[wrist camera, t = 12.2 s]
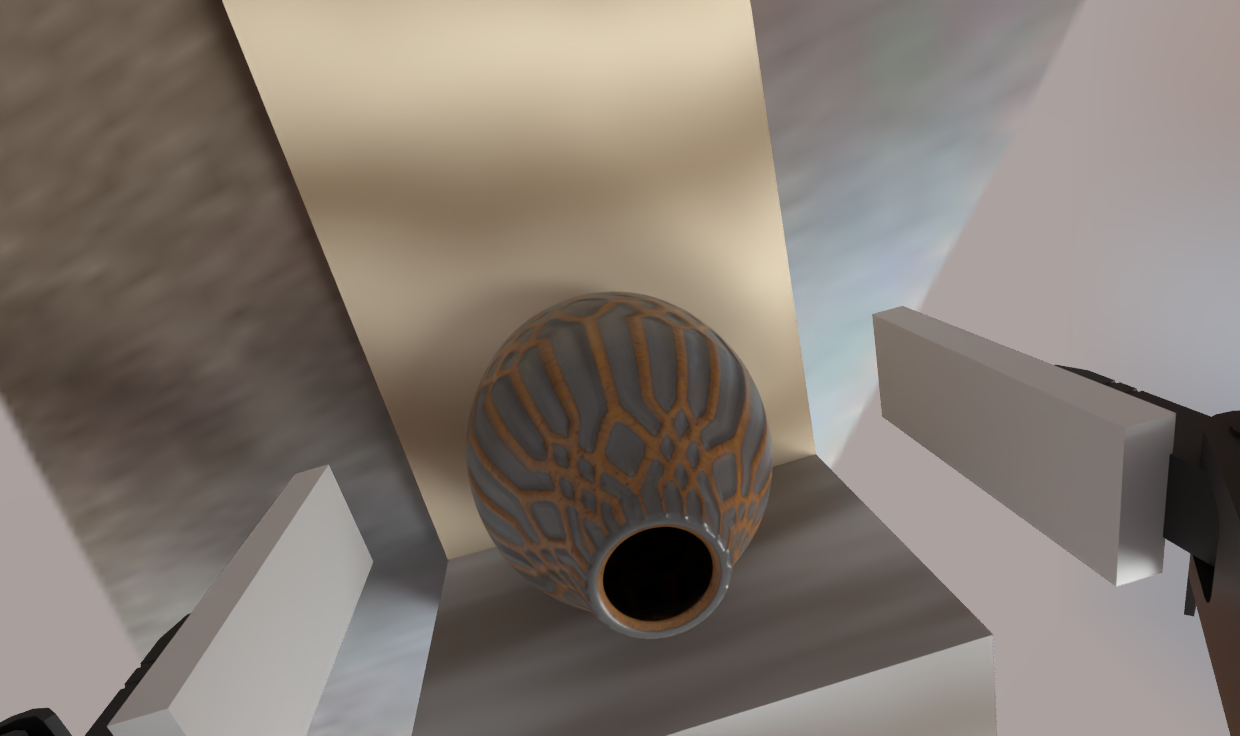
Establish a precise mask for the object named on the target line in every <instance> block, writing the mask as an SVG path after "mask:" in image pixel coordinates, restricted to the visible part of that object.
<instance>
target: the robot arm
mask: <svg viewBox="0 0 1240 736" xmlns="http://www.w3.org/2000/svg"><path fill="white" fill-rule="evenodd" d="M872 315H873V326H874V336H875V346H876V356H877V367H878V377H879V387H880V397H881V408H882V416H883V417H884V418H885V419H886V420H888V421H889V422H891V423H892V424H893V425H895V426H896V427H898V428H899V429H900V430H902V431H903V432H904V433H906V434H907V435H909V436H910V437H911V438H913V439H914V440H915V441H917V442H918V443H920V444H921V445H922V446H924V447H925V448H926V449H928V450H929V451H930V452H932V453H933V454H935V455H936V456H937V457H939V458H940V459H941V460H943V461H944V462H946V463H947V464H948V465H950V466H951V467H952V468H954V469H955V470H957V471H958V472H959V473H961V474H962V475H963V476H965V477H966V478H968V479H969V480H970V481H972V482H973V483H974V484H976V485H977V486H979V487H980V488H981V489H983V490H984V491H985V492H987V493H988V494H990V495H991V496H992V497H994V498H995V499H997V500H998V501H1000V502H1001V503H1002V504H1003V505H1005V506H1006V507H1007V508H1009V509H1010V510H1012V511H1013V512H1014V513H1016V514H1017V515H1018V516H1020V517H1021V518H1023V519H1024V520H1025V521H1027V522H1028V523H1029V524H1031V525H1032V526H1034V527H1035V528H1036V529H1038V530H1039V531H1040V532H1042V533H1043V534H1045V535H1046V536H1047V537H1049V538H1050V539H1051V540H1053V541H1054V542H1056V543H1057V544H1058V545H1060V546H1061V547H1062V548H1064V549H1065V550H1067V551H1068V552H1069V553H1071V554H1072V555H1073V556H1075V557H1076V558H1078V559H1079V560H1080V561H1082V562H1083V563H1085V564H1086V565H1087V566H1089V567H1090V568H1091V569H1093V570H1094V571H1095V572H1097V573H1098V574H1100V575H1101V576H1102V577H1104V578H1105V579H1106V580H1108V581H1109V582H1111V583H1112V584H1114V585H1115V586H1120V585H1123V584H1126V583H1130V582H1132V581H1136V580H1139V579H1143V578H1146V577H1149V576H1152V575H1156V574H1159V573H1162V569H1163V558H1164V546H1165V538H1166V539H1167V540H1169V541H1171V542H1172V543H1174V544H1176V545H1177V546H1179V547H1181V548H1182V549H1184V550H1186V551H1187V552H1189V553H1190V563H1189V572H1188V582H1187V591H1186V601H1185V611H1184V614H1185V615H1190V616H1194V613H1195V609H1196V606H1197V610H1198V613H1199V617H1200V620H1201V625H1202V629H1203V632H1204V636H1205V640H1206V644H1207V647H1208V651H1209V655H1210V659H1211V663H1212V666H1213V670H1214V674H1215V678H1216V682H1217V686H1218V689H1219V693H1220V697H1221V701H1222V705H1223V709H1224V712H1225V716H1226V720H1227V724H1228V728H1229V731H1230V735H1231V736H1240V411H1231V412H1226V413H1221V414H1216V415H1214V416H1212V417H1210V416H1208V415H1205V414H1202V413H1200V412H1197V411H1194V410H1192V409H1189V408H1187V407H1184V406H1181V405H1178V404H1176V403H1173V402H1171V401H1168V400H1165V399H1163V398H1160V397H1157V396H1154V395H1152V394H1149V393H1147V392H1144V391H1140V392H1138V391H1137V389H1136V388H1133V387H1131V386H1128V385H1125V384H1123V383H1115V381H1114V380H1112V379H1109V378H1107V377H1104V376H1101V375H1099V374H1096V373H1094V372H1091V371H1088V370H1082V369H1077V368H1071V367H1066V366H1060V365H1052V364H1049V363H1047V362H1044V361H1042V360H1039V359H1037V358H1034V357H1032V356H1029V355H1026V354H1024V353H1021V352H1019V351H1016V350H1014V349H1011V348H1008V347H1006V346H1003V345H1001V344H998V343H996V342H993V341H991V340H988V339H985V338H983V337H980V336H978V335H975V334H973V333H970V332H968V331H965V330H963V329H960V328H957V327H955V326H952V325H950V324H947V323H945V322H942V321H940V320H937V319H935V318H932V317H929V316H927V315H924V314H922V313H919V312H917V311H914V310H912V309H909V308H906V307H904V306H901V307H897V308H893V309H890V310H886V311H883V312H879V313H875V314H872ZM372 564H373V560H372V558H371V555H370V553H369V551H368V549H367V547H366V545H365V542H364V540H363V538H362V536H361V534H360V532H359V529H358V527H357V525H356V523H355V521H354V518H353V516H352V514H351V512H350V510H349V508H348V505H347V503H346V501H345V499H344V497H343V494H342V492H341V490H340V488H339V486H338V484H337V481H336V479H335V477H334V475H333V473H332V470H331V468H330V466H329V464H328V465H325V466H321V467H318V468H314V469H310V470H307V471H303V472H299V473H296V474H295V475H294V476H293V477H292V479H291V480H290V481H289V483H288V484H287V485H286V487H285V488H284V489H283V491H282V492H281V494H280V495H279V496H278V498H277V499H276V500H275V502H274V503H273V504H272V506H271V507H270V508H269V510H268V511H267V512H266V514H265V515H264V516H263V518H262V519H261V520H260V522H259V523H258V524H257V526H256V527H255V528H254V530H253V531H252V532H251V534H250V535H249V536H248V538H247V539H246V540H245V542H244V543H243V544H242V546H241V547H240V548H239V550H238V551H237V553H236V554H235V555H234V557H233V558H232V559H231V561H230V562H229V563H228V565H227V566H226V567H225V569H224V570H223V571H222V573H221V574H220V575H219V577H218V578H217V579H216V581H215V582H214V583H213V585H212V586H211V587H210V589H209V590H208V591H207V593H206V594H205V595H204V597H203V598H202V599H201V601H200V602H199V603H198V605H197V606H196V607H195V609H194V610H193V611H192V613H191V614H188V615H186V616H185V617H184V618H183V619H182V620H181V621H179V622H178V623H177V624H176V625H175V626H174V627H173V628H171V629H170V630H169V631H168V632H167V633H166V634H165V635H163V636H162V637H161V638H160V639H159V640H158V641H157V643H156V644H155V645H154V647H153V648H152V649H151V651H150V652H149V653H148V654H147V656H146V657H145V658H144V660H143V661H142V662H141V667H140V668H137V669H136V670H135V671H134V673H133V674H132V675H131V676H130V678H129V679H128V680H127V682H126V683H125V688H124V689H121V690H120V691H119V692H118V693H117V695H116V696H115V697H114V699H113V700H112V701H111V703H110V704H109V705H108V706H107V708H106V709H105V710H104V711H103V713H102V714H101V715H100V717H99V718H98V719H97V720H96V722H95V723H94V724H93V726H92V727H91V728H90V730H89V731H88V732H87V733H86V735H85V736H306V734H307V732H308V729H309V727H310V724H311V721H312V719H313V716H314V714H315V711H316V708H317V706H318V703H319V701H320V698H321V696H322V693H323V690H324V688H325V685H326V683H327V680H328V678H329V675H330V672H331V670H332V667H333V665H334V662H335V660H336V657H337V654H338V652H339V649H340V647H341V644H342V641H343V639H344V636H345V634H346V631H347V629H348V626H349V623H350V621H351V618H352V616H353V613H354V611H355V608H356V605H357V603H358V600H359V598H360V595H361V593H362V590H363V587H364V585H365V582H366V580H367V577H368V575H369V572H370V569H371V567H372ZM0 736H72V735H71V734H70V732H69V731H68V730H67V729H66V727H65V726H64V724H63V723H62V722H61V720H60V719H59V718H58V716H57V715H56V714H55V713H54V712H53V711H52V710H51V709H49V708H38V709H31V710H29V711H26V712H23V713H20V714H17V715H14V716H12V717H10V718H8V719H6V720H4V721H2V722H0Z"/></svg>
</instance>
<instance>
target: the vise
mask: <svg viewBox="0 0 1240 736" xmlns="http://www.w3.org/2000/svg"><path fill="white" fill-rule="evenodd" d="M222 2H223V4H224V7H225V9H226V12H227V14H228V16H229V19H230V21H231V24H232V26H233V29H234V31H235V34H236V36H237V39H238V41H239V44H240V46H241V49H242V51H243V54H244V56H245V59H246V61H247V64H248V66H249V68H250V71H251V73H252V76H253V78H254V81H255V83H256V86H257V88H258V91H259V93H260V96H261V98H262V101H263V103H264V106H265V108H266V111H267V113H268V116H269V118H270V120H271V123H272V125H273V128H274V130H275V133H276V135H277V138H278V140H279V143H280V145H281V148H282V150H283V153H284V155H285V158H286V160H287V163H288V165H289V168H290V170H291V172H292V175H293V177H294V180H295V182H296V185H297V187H298V190H299V192H300V195H301V197H302V200H303V202H304V205H305V207H306V210H307V212H308V215H309V217H310V220H311V222H312V224H313V227H314V229H315V232H316V234H317V237H318V239H319V242H320V244H321V247H322V249H323V252H324V254H325V257H326V259H327V262H328V264H329V267H330V269H331V272H332V274H333V276H334V279H335V281H336V284H337V286H338V289H339V291H340V294H341V296H342V299H343V301H344V304H345V306H346V309H347V311H348V314H349V316H350V319H351V321H352V324H353V326H354V328H355V331H356V333H357V336H358V338H359V341H360V343H361V346H362V348H363V351H364V353H365V356H366V358H367V361H368V363H369V366H370V368H371V371H372V373H373V376H374V378H375V380H376V383H377V385H378V388H379V390H380V393H381V395H382V398H383V400H384V403H385V405H386V408H387V410H388V413H389V415H390V418H391V420H392V423H393V425H394V428H395V430H396V432H397V435H398V437H399V440H400V442H401V445H402V447H403V450H404V452H405V455H406V457H407V460H408V462H409V465H410V467H411V470H412V472H413V475H414V477H415V480H416V482H417V484H418V487H419V489H420V492H421V494H422V497H423V499H424V502H425V504H426V507H427V509H428V512H429V514H430V517H431V519H432V522H433V524H434V527H435V529H436V532H437V534H438V536H439V539H440V541H441V544H442V546H443V549H444V551H445V554H446V556H447V559H448V563H447V568H446V573H445V578H444V583H443V587H442V592H441V597H440V602H439V607H438V611H437V616H436V621H435V626H434V631H433V636H432V640H431V645H430V650H429V655H428V660H427V664H426V669H425V674H424V679H423V684H422V689H421V693H420V698H419V703H418V708H417V713H416V718H415V722H414V727H413V732H412V736H997V721H996V696H995V695H996V694H995V670H994V669H995V668H994V643H993V634H992V633H991V632H990V631H989V630H988V629H987V628H986V627H985V626H984V625H983V624H982V623H981V622H980V621H979V620H978V619H977V618H976V617H975V616H974V615H973V614H972V613H971V612H970V610H969V609H968V608H967V607H966V606H964V604H963V603H962V602H961V601H960V600H959V599H958V598H957V597H956V596H955V595H954V594H953V593H952V592H951V591H950V590H949V589H948V588H947V587H946V586H945V585H944V584H943V583H942V582H941V581H940V580H939V579H938V578H937V577H936V576H935V575H934V574H933V573H932V572H931V571H930V570H929V569H928V568H927V567H926V566H925V565H924V564H923V563H922V562H921V561H920V560H919V559H918V558H917V557H916V556H915V555H914V554H913V553H912V552H911V551H910V550H909V549H908V547H907V546H906V545H904V543H903V542H902V541H901V540H899V538H898V537H897V536H896V535H895V534H894V533H893V532H892V531H891V530H890V529H889V528H888V527H887V526H886V525H885V524H884V523H883V522H882V521H881V520H880V519H879V518H878V517H877V516H876V515H875V514H874V513H873V512H872V511H871V510H870V509H869V508H868V507H867V506H866V505H865V504H864V503H863V502H862V501H861V500H860V499H859V498H858V497H857V496H856V495H855V494H854V493H853V492H852V491H851V490H850V489H849V488H848V487H847V486H846V485H845V484H844V483H843V481H841V479H839V478H838V477H837V475H836V474H835V473H834V472H833V471H832V470H831V469H830V468H829V467H828V466H827V465H826V464H825V463H824V462H823V461H822V460H821V459H820V458H819V457H818V456H817V455H816V452H815V445H814V438H813V431H812V424H811V417H810V410H809V403H808V397H807V390H806V383H805V376H804V369H803V362H802V355H801V348H800V342H799V335H798V328H797V321H796V314H795V307H794V300H793V293H792V286H791V280H790V273H789V266H788V259H787V252H786V245H785V238H784V231H783V225H782V218H781V211H780V204H779V197H778V190H777V183H776V176H775V169H774V163H773V156H772V149H771V142H770V135H769V128H768V121H767V114H766V108H765V101H764V94H763V87H762V80H761V73H760V66H759V59H758V52H757V46H756V39H755V32H754V25H753V18H752V11H751V4H750V0H222ZM599 292H631V293H638V294H644V295H648V296H652V297H656V298H659V299H661V300H664V301H667V302H669V303H671V304H674V305H676V306H678V307H680V308H682V309H684V310H685V311H687V312H689V313H691V314H693V315H694V316H696V317H697V318H699V319H700V320H701V321H703V322H704V323H705V324H707V325H708V326H709V327H710V328H712V329H713V330H714V331H715V332H717V333H718V334H719V335H720V336H721V337H722V338H723V339H724V340H725V341H726V342H727V344H728V345H729V346H730V347H731V348H732V349H733V350H734V351H735V352H736V354H737V355H738V356H739V358H740V359H741V360H742V362H743V363H744V365H745V366H746V368H747V370H748V371H749V373H750V375H751V377H752V379H753V381H754V383H755V385H756V387H757V389H758V391H759V394H760V396H761V399H762V402H763V405H764V408H765V412H766V415H767V419H768V424H769V429H770V434H771V442H772V458H773V467H772V480H771V487H770V493H769V497H768V501H767V505H766V508H765V511H764V514H763V517H762V520H761V522H760V524H759V527H758V529H757V531H756V533H755V535H754V537H753V538H752V540H751V542H750V543H749V545H748V546H747V548H746V549H745V551H744V552H743V554H742V555H741V557H740V558H739V559H738V560H737V562H736V563H735V564H734V565H733V571H732V576H731V580H730V584H729V587H728V589H727V592H726V594H725V596H724V597H723V599H722V601H721V602H720V604H719V605H718V606H717V608H716V609H715V610H714V611H713V612H712V613H711V614H710V615H709V616H708V617H707V618H706V619H705V620H703V621H702V622H701V623H699V624H698V625H696V626H695V627H693V628H691V629H689V630H687V631H685V632H682V633H680V634H677V635H674V636H670V637H665V638H659V639H640V638H634V637H630V636H626V635H623V634H620V633H618V632H616V631H614V630H612V629H610V628H609V627H607V626H606V625H605V624H603V623H602V622H601V621H600V620H599V619H598V618H597V617H596V616H595V615H594V614H593V613H592V612H589V611H585V610H582V609H579V608H576V607H573V606H570V605H568V604H565V603H563V602H560V601H558V600H556V599H554V598H552V597H550V596H549V595H547V594H545V593H544V592H542V591H541V590H539V589H538V588H536V587H535V586H533V585H532V584H530V583H529V582H528V581H527V580H525V579H524V578H523V577H522V576H521V575H520V574H519V573H518V572H517V571H516V570H515V569H514V568H513V567H512V566H511V565H510V564H509V563H508V561H507V560H506V559H505V558H504V557H503V555H502V554H501V553H500V551H499V550H498V549H497V547H496V545H495V544H494V542H493V541H492V539H491V537H490V536H489V534H488V532H487V530H486V528H485V526H484V524H483V522H482V520H481V517H480V515H479V513H478V510H477V508H476V505H475V501H474V498H473V495H472V491H471V488H470V483H469V479H468V471H467V462H466V435H467V428H468V421H469V415H470V411H471V407H472V403H473V400H474V397H475V394H476V391H477V388H478V386H479V383H480V381H481V379H482V377H483V375H484V373H485V371H486V369H487V367H488V365H489V363H490V362H491V360H492V359H493V357H494V355H495V354H496V352H497V351H498V350H499V348H500V347H501V346H502V344H503V343H504V342H505V341H506V340H507V339H508V338H509V336H510V335H511V334H512V333H514V332H515V331H516V330H517V329H518V328H519V327H520V326H521V325H523V324H524V323H525V322H526V321H528V320H529V319H530V318H532V317H533V316H535V315H536V314H538V313H540V312H541V311H543V310H545V309H547V308H549V307H551V306H553V305H555V304H557V303H560V302H562V301H565V300H567V299H571V298H574V297H577V296H582V295H586V294H592V293H599Z"/></svg>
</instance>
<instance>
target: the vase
mask: <svg viewBox="0 0 1240 736" xmlns="http://www.w3.org/2000/svg"><path fill="white" fill-rule="evenodd" d="M466 462H467V471H468V479H469V483H470V488H471V491H472V495H473V498H474V501H475V505H476V508H477V510H478V513H479V515H480V517H481V520H482V522H483V524H484V526H485V528H486V530H487V532H488V534H489V536H490V537H491V539H492V541H493V542H494V544H495V545H496V547H497V549H498V550H499V551H500V553H501V554H502V555H503V557H504V558H505V559H506V560H507V561H508V563H509V564H510V565H511V566H512V567H513V568H514V569H515V570H516V571H517V572H518V573H519V574H520V575H521V576H522V577H523V578H524V579H525V580H527V581H528V582H529V583H530V584H532V585H533V586H535V587H536V588H538V589H539V590H541V591H542V592H544V593H545V594H547V595H549V596H550V597H552V598H554V599H556V600H558V601H560V602H563V603H565V604H568V605H570V606H573V607H576V608H579V609H582V610H585V611H589V612H592V613H593V614H594V615H595V616H596V617H597V618H598V619H599V620H600V621H601V622H602V623H603V624H605V625H606V626H607V627H609V628H610V629H612V630H614V631H616V632H618V633H620V634H623V635H626V636H630V637H634V638H640V639H659V638H665V637H670V636H674V635H677V634H680V633H682V632H685V631H687V630H689V629H691V628H693V627H695V626H696V625H698V624H699V623H701V622H702V621H703V620H705V619H706V618H707V617H708V616H709V615H710V614H711V613H712V612H713V611H714V610H715V609H716V608H717V606H718V605H719V604H720V602H721V601H722V599H723V597H724V596H725V594H726V592H727V589H728V587H729V584H730V580H731V576H732V571H733V565H734V564H735V563H736V562H737V560H738V559H739V558H740V557H741V555H742V554H743V552H744V551H745V549H746V548H747V546H748V545H749V543H750V542H751V540H752V538H753V537H754V535H755V533H756V531H757V529H758V527H759V524H760V522H761V520H762V517H763V514H764V511H765V508H766V505H767V501H768V497H769V493H770V487H771V480H772V467H773V458H772V442H771V434H770V429H769V424H768V419H767V415H766V412H765V408H764V405H763V402H762V399H761V396H760V394H759V391H758V389H757V387H756V385H755V383H754V381H753V379H752V377H751V375H750V373H749V371H748V370H747V368H746V366H745V365H744V363H743V362H742V360H741V359H740V358H739V356H738V355H737V354H736V352H735V351H734V350H733V349H732V348H731V347H730V346H729V345H728V344H727V342H726V341H725V340H724V339H723V338H722V337H721V336H720V335H719V334H718V333H717V332H715V331H714V330H713V329H712V328H710V327H709V326H708V325H707V324H705V323H704V322H703V321H701V320H700V319H699V318H697V317H696V316H694V315H693V314H691V313H689V312H687V311H685V310H684V309H682V308H680V307H678V306H676V305H674V304H671V303H669V302H667V301H664V300H661V299H659V298H656V297H652V296H648V295H644V294H638V293H631V292H599V293H592V294H586V295H582V296H577V297H574V298H571V299H567V300H565V301H562V302H560V303H557V304H555V305H553V306H551V307H549V308H547V309H545V310H543V311H541V312H540V313H538V314H536V315H535V316H533V317H532V318H530V319H529V320H528V321H526V322H525V323H524V324H523V325H521V326H520V327H519V328H518V329H517V330H516V331H515V332H514V333H512V334H511V335H510V336H509V338H508V339H507V340H506V341H505V342H504V343H503V344H502V346H501V347H500V348H499V350H498V351H497V352H496V354H495V355H494V357H493V359H492V360H491V362H490V363H489V365H488V367H487V369H486V371H485V373H484V375H483V377H482V379H481V381H480V383H479V386H478V388H477V391H476V394H475V397H474V400H473V403H472V407H471V411H470V415H469V421H468V428H467V435H466Z"/></svg>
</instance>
